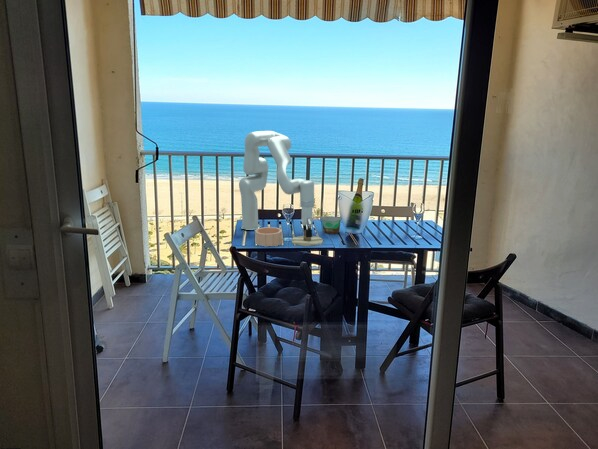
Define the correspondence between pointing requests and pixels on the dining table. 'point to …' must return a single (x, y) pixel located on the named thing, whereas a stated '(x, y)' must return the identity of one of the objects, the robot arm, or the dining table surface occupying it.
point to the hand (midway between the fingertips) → (307, 234)
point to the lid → (307, 240)
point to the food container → (331, 224)
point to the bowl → (268, 236)
